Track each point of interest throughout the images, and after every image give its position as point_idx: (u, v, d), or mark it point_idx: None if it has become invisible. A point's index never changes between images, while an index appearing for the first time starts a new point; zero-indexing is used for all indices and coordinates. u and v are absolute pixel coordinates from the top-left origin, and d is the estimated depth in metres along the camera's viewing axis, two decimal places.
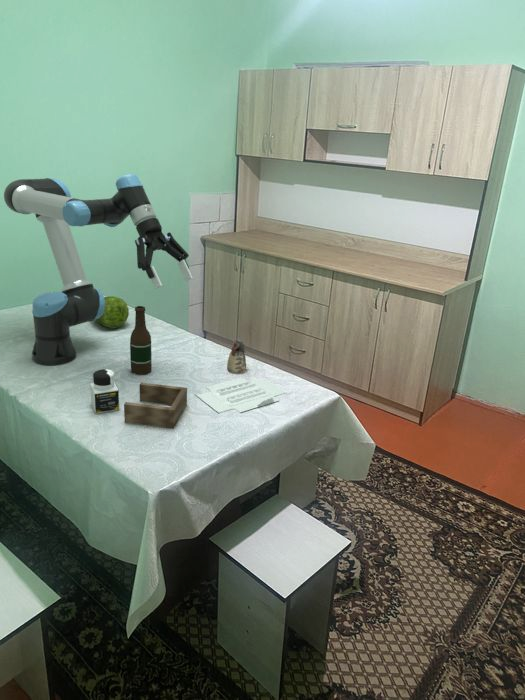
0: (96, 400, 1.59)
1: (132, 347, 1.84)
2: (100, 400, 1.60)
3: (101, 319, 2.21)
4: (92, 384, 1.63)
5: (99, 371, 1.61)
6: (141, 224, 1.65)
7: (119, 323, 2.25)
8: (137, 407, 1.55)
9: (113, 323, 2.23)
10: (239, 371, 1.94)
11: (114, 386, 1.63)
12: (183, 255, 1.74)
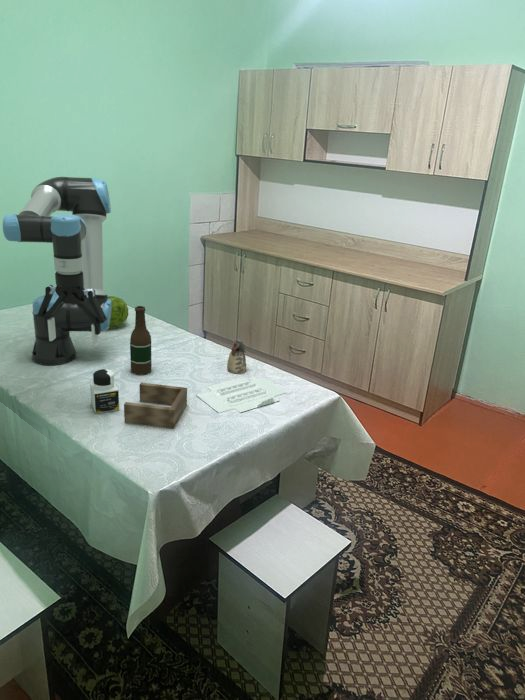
0: (96, 400, 1.59)
1: (132, 347, 1.84)
2: (100, 400, 1.60)
3: None
4: (92, 384, 1.63)
5: (99, 371, 1.61)
6: (55, 274, 1.50)
7: (119, 323, 2.25)
8: (137, 407, 1.55)
9: (113, 323, 2.23)
10: (239, 371, 1.94)
11: (114, 386, 1.63)
12: (96, 320, 1.54)
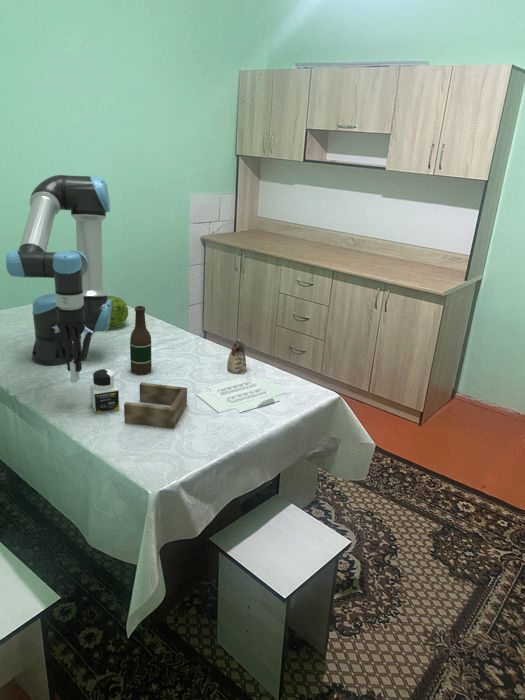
0: (96, 400, 1.59)
1: (132, 347, 1.84)
2: (100, 400, 1.60)
3: None
4: (92, 384, 1.63)
5: (99, 371, 1.61)
6: (56, 310, 1.53)
7: (118, 323, 2.25)
8: (137, 407, 1.55)
9: (113, 323, 2.23)
10: (239, 371, 1.94)
11: (114, 386, 1.63)
12: (78, 359, 1.58)
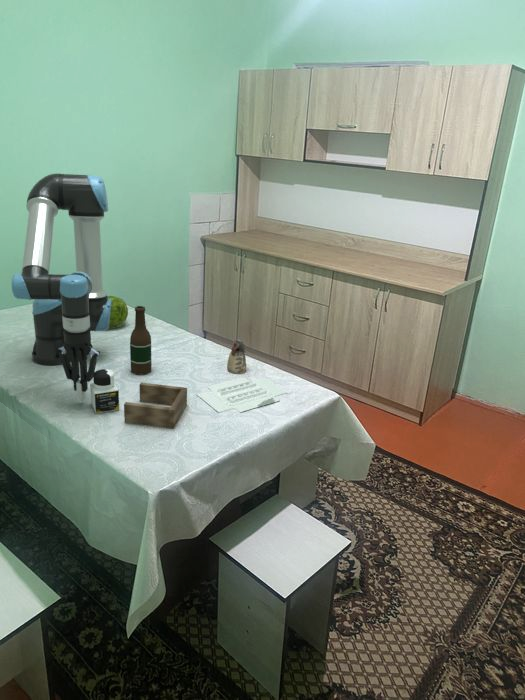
0: (96, 400, 1.59)
1: (132, 347, 1.84)
2: (100, 400, 1.60)
3: None
4: (92, 384, 1.63)
5: (99, 371, 1.61)
6: None
7: (118, 323, 2.25)
8: (137, 407, 1.55)
9: (113, 323, 2.24)
10: (239, 371, 1.94)
11: (114, 386, 1.63)
12: (84, 379, 1.61)
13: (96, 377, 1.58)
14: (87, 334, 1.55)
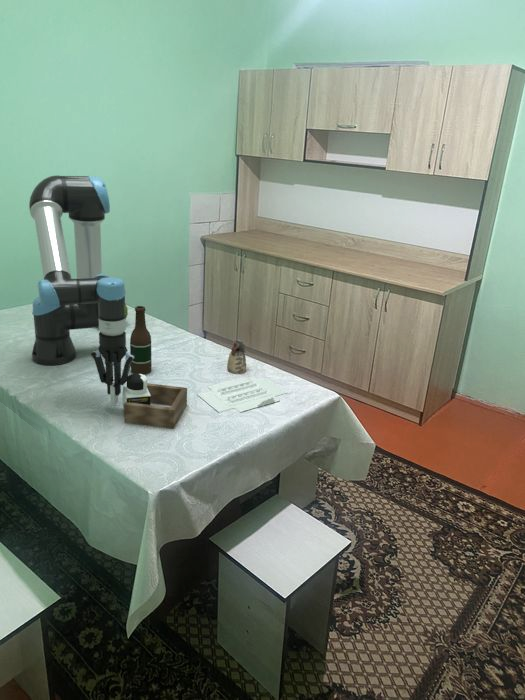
0: None
1: (132, 347, 1.84)
2: None
3: None
4: (125, 388, 1.61)
5: (133, 375, 1.59)
6: (99, 334, 1.54)
7: None
8: (137, 407, 1.55)
9: None
10: (239, 371, 1.94)
11: (147, 391, 1.61)
12: (118, 383, 1.59)
13: (129, 381, 1.57)
14: (123, 337, 1.54)
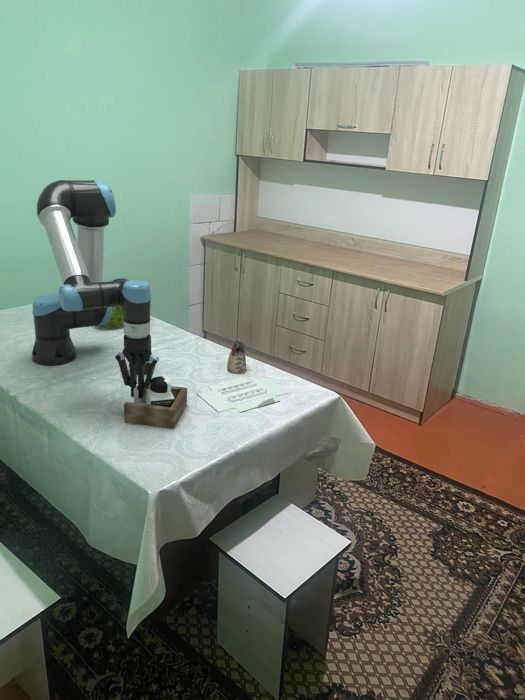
0: None
1: None
2: None
3: None
4: (148, 391, 1.61)
5: (156, 378, 1.59)
6: None
7: (118, 322, 2.25)
8: (137, 407, 1.55)
9: (112, 323, 2.24)
10: (239, 371, 1.94)
11: (170, 394, 1.60)
12: (141, 386, 1.59)
13: (153, 384, 1.56)
14: (148, 340, 1.53)
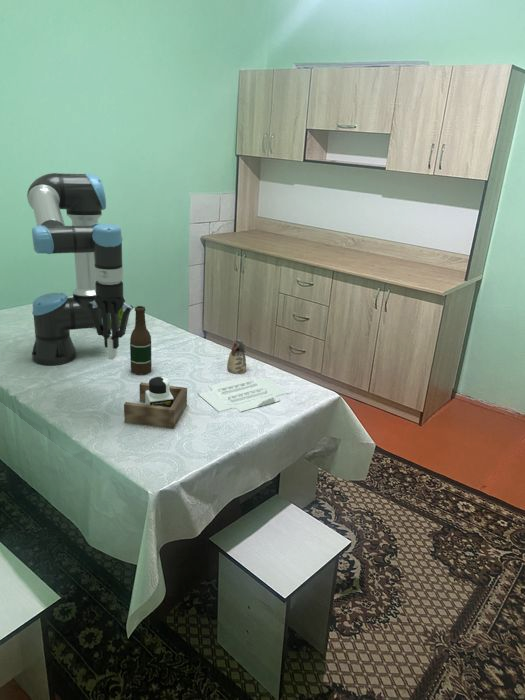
0: None
1: (132, 347, 1.84)
2: None
3: None
4: (147, 391, 1.61)
5: (155, 379, 1.59)
6: (95, 284, 1.49)
7: None
8: (137, 407, 1.55)
9: None
10: (239, 371, 1.94)
11: (169, 394, 1.60)
12: (115, 335, 1.54)
13: (152, 385, 1.56)
14: (120, 287, 1.49)
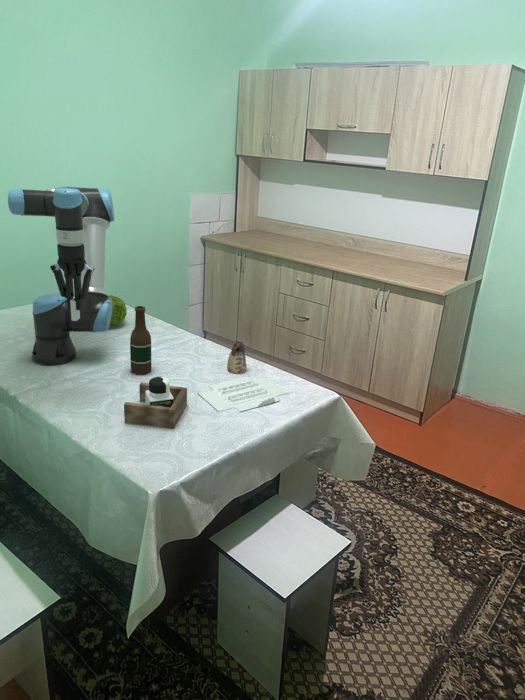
0: None
1: (132, 347, 1.84)
2: None
3: None
4: (147, 391, 1.61)
5: (155, 379, 1.59)
6: (57, 246, 1.56)
7: (117, 322, 2.26)
8: (137, 407, 1.55)
9: (111, 322, 2.24)
10: (239, 371, 1.94)
11: (169, 394, 1.60)
12: (78, 297, 1.61)
13: (152, 385, 1.56)
14: (81, 248, 1.55)
